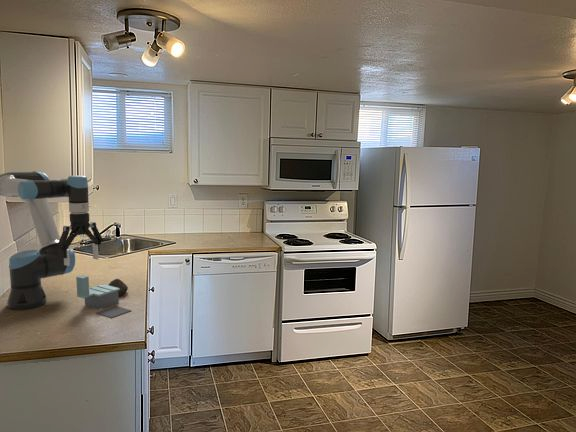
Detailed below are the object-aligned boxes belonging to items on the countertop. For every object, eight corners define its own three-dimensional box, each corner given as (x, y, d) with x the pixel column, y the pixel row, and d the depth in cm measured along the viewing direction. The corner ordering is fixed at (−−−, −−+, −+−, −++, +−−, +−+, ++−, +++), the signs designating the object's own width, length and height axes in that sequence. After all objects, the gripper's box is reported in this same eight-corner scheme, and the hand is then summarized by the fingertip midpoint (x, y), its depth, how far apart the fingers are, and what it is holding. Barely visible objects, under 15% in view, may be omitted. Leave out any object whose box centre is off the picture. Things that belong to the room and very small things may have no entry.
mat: (95, 313, 189) (95, 312, 189) (115, 306, 197) (115, 305, 197) (111, 318, 184) (111, 317, 184) (131, 311, 192) (131, 310, 192)
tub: (84, 304, 199) (84, 292, 198) (104, 298, 207) (103, 286, 206) (99, 309, 194) (98, 296, 193) (118, 302, 202) (118, 290, 202)
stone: (130, 301, 216) (130, 283, 221) (126, 293, 209) (125, 275, 215) (109, 305, 214) (109, 287, 220) (104, 297, 207) (104, 278, 213)
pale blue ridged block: (72, 295, 193) (71, 275, 192) (103, 285, 207) (103, 267, 206) (88, 299, 188) (87, 279, 187) (119, 290, 202) (119, 271, 200)
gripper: (56, 216, 174) (59, 269, 177) (110, 210, 195) (112, 257, 198) (45, 215, 178) (48, 267, 181) (99, 209, 199) (101, 255, 202)
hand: (81, 262), depth 190 cm, fingers open, 13 cm apart
